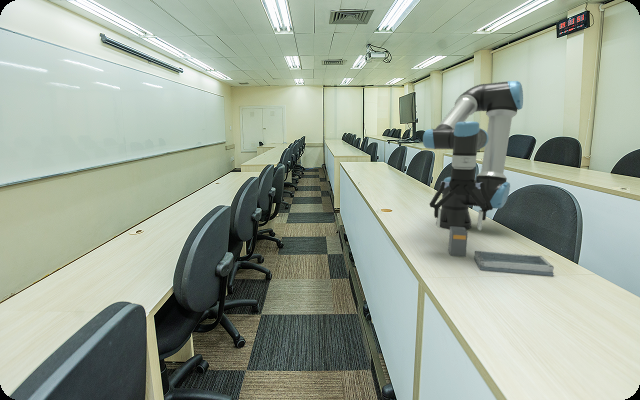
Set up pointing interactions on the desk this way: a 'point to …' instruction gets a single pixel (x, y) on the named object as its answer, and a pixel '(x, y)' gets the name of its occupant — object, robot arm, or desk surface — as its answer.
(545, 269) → the shallow grey tray
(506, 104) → the robot arm
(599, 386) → the desk surface
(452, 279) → the desk surface
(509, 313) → the desk surface
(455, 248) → the block
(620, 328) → the desk surface
